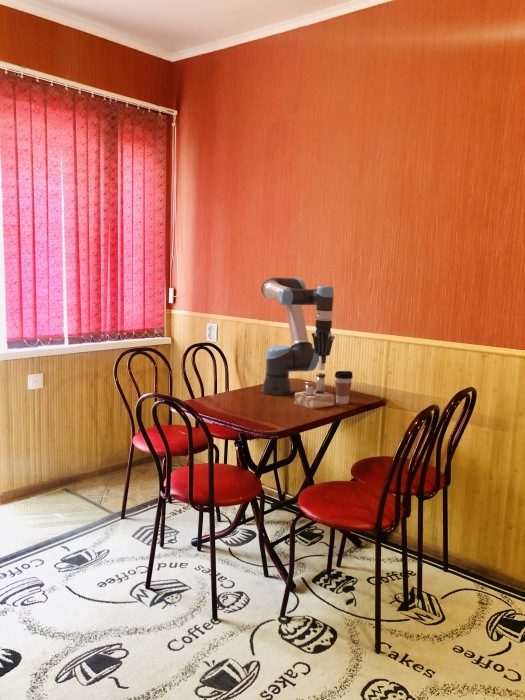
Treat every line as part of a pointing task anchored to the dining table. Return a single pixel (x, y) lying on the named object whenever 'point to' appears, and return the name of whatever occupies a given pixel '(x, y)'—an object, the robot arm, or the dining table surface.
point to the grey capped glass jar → (320, 383)
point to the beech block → (314, 399)
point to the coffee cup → (343, 386)
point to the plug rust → (309, 388)
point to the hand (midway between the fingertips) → (321, 369)
